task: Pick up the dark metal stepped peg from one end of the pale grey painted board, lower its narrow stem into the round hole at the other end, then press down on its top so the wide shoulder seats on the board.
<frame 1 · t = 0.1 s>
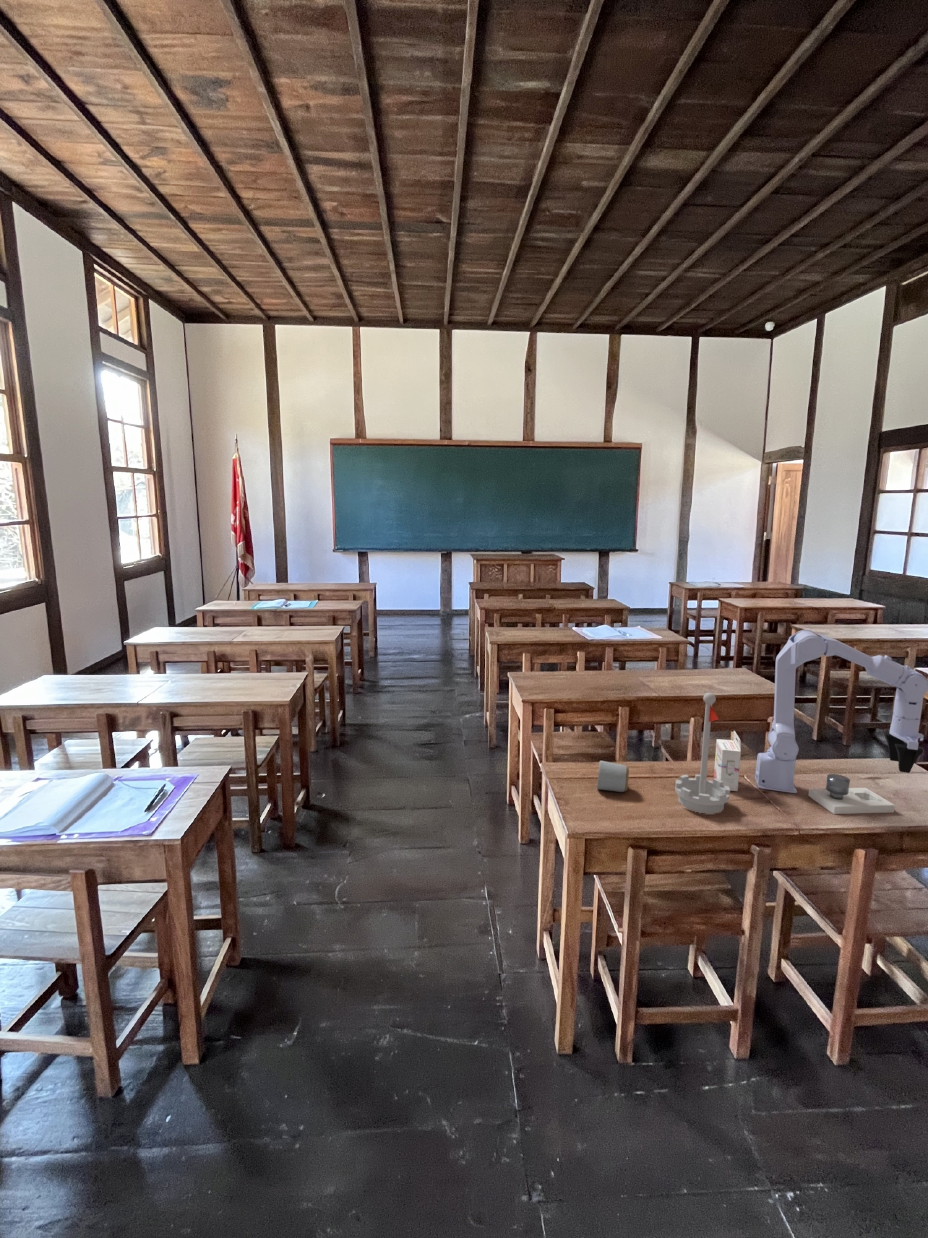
hand: (899, 766, 155), 10 cm above the table, tool pointing down, fingers open, 7 cm apart
ink cartridge box: (724, 785, 166), on the table
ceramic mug: (611, 788, 163), on the table
peg: (836, 797, 154), point 2 cm above the table, touching board
flag stand: (700, 804, 154), on the table
board: (849, 804, 155), on the table
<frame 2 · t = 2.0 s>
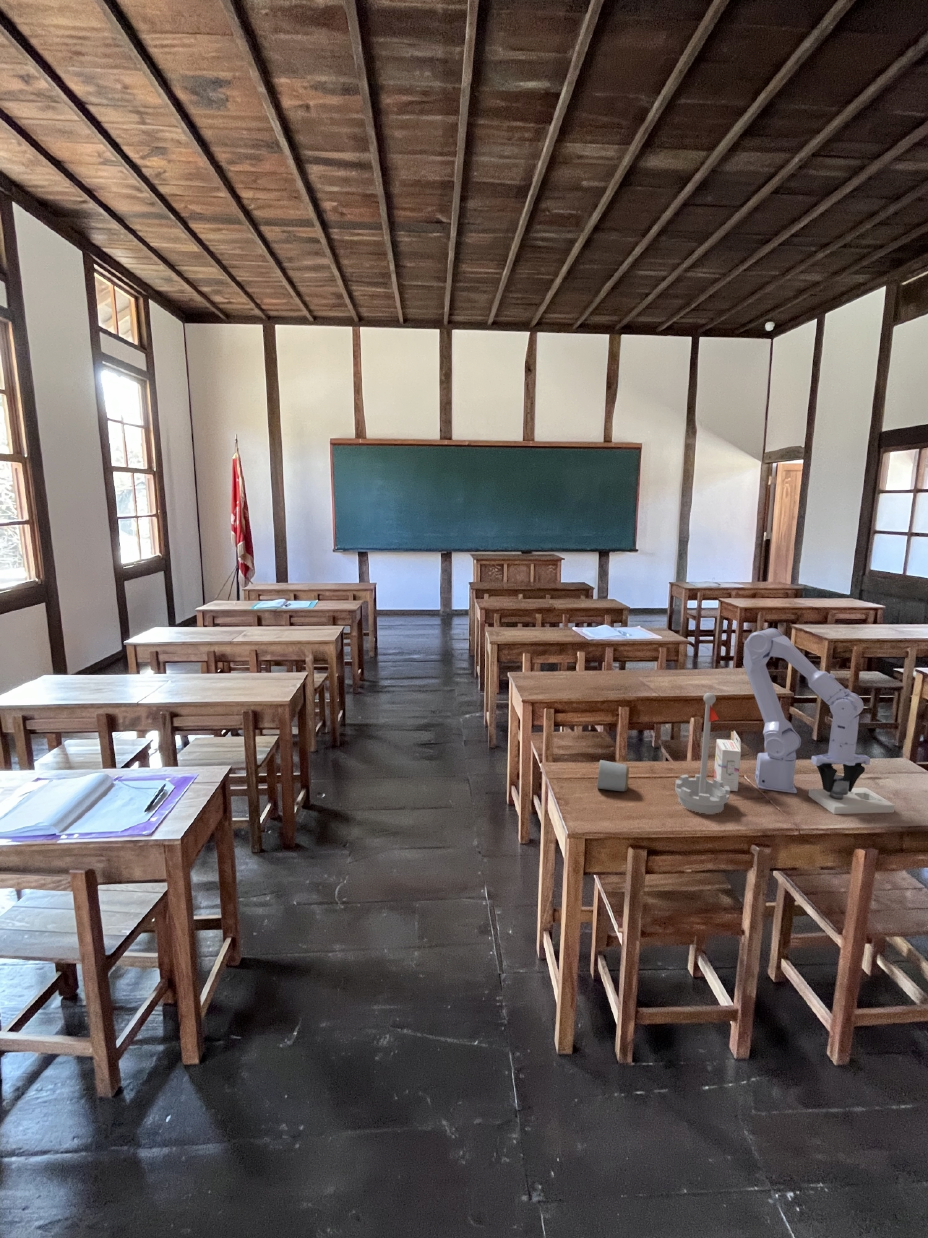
hand: (837, 790, 154), 4 cm above the table, tool pointing down, fingers closed on peg, 5 cm apart
peg: (836, 797, 154), point 2 cm above the table, touching board, gripper
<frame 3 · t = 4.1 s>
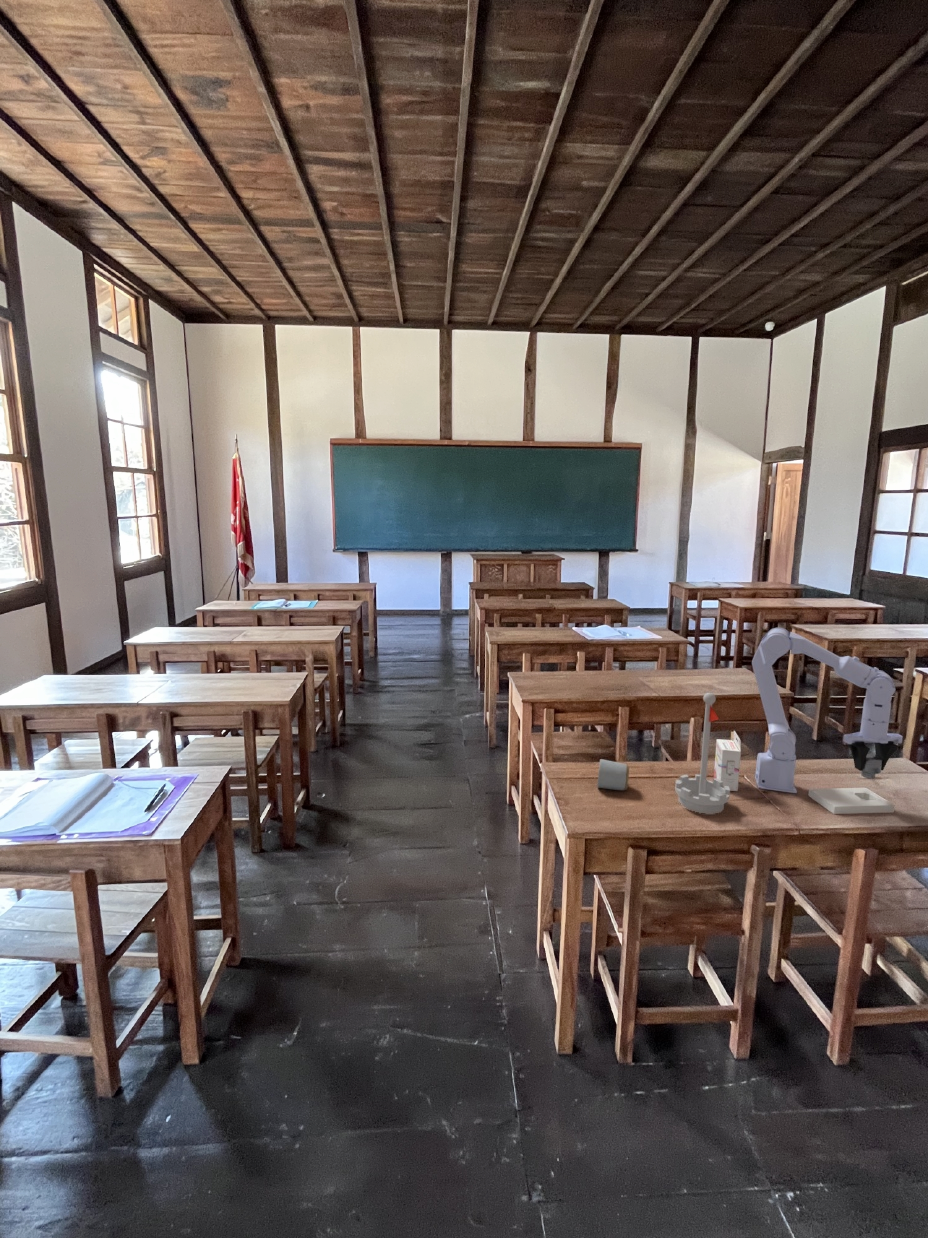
hand: (868, 769, 154), 10 cm above the table, tool pointing down, fingers closed on peg, 5 cm apart
peg: (868, 776, 154), point 8 cm above the table, touching gripper
when the fingers open (3 cm above the table, at t = 6.1 s): peg stays where it is, resting on board.
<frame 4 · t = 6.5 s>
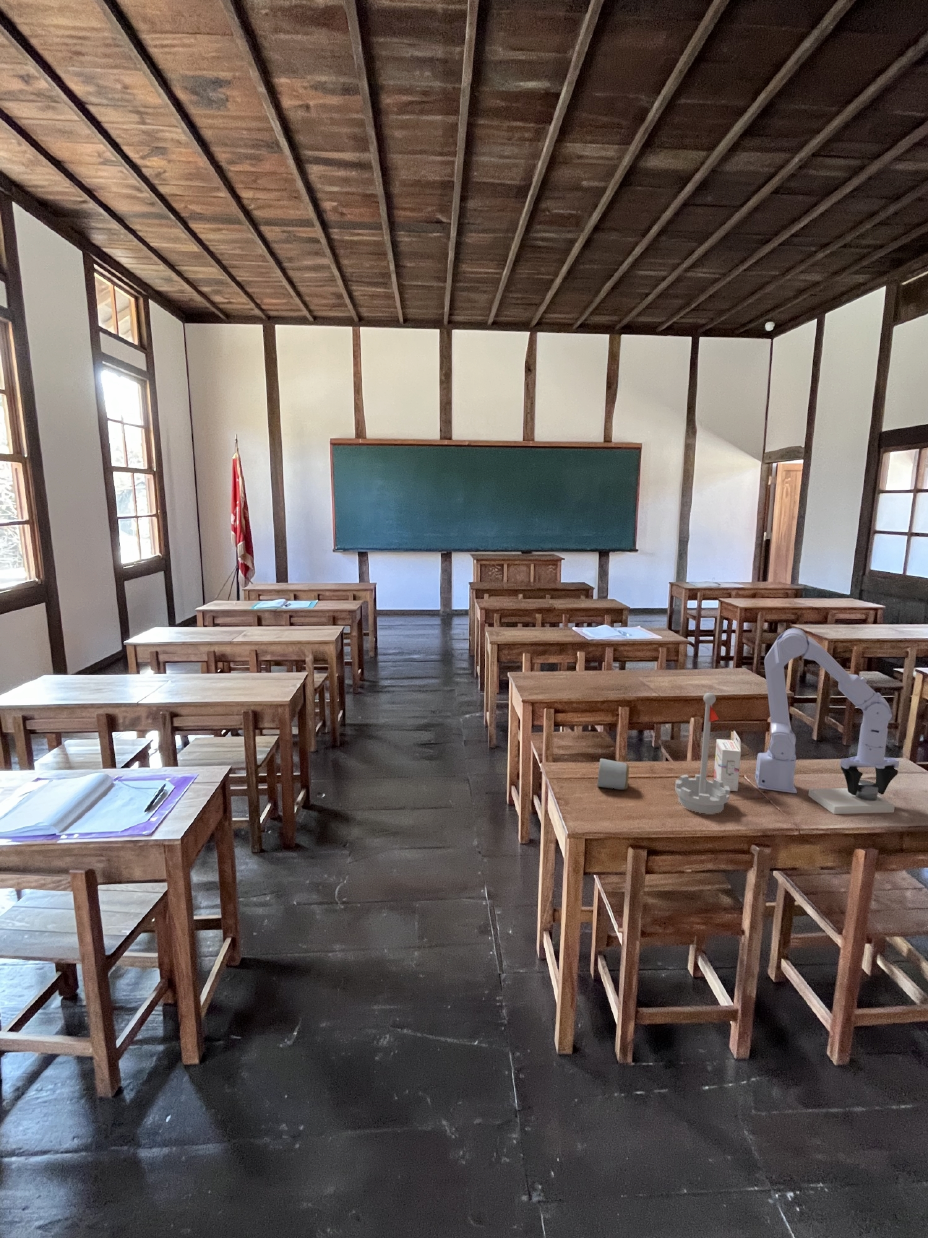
hand: (865, 793, 155), 3 cm above the table, tool pointing down, fingers open, 7 cm apart
peg: (864, 803, 155), resting on board
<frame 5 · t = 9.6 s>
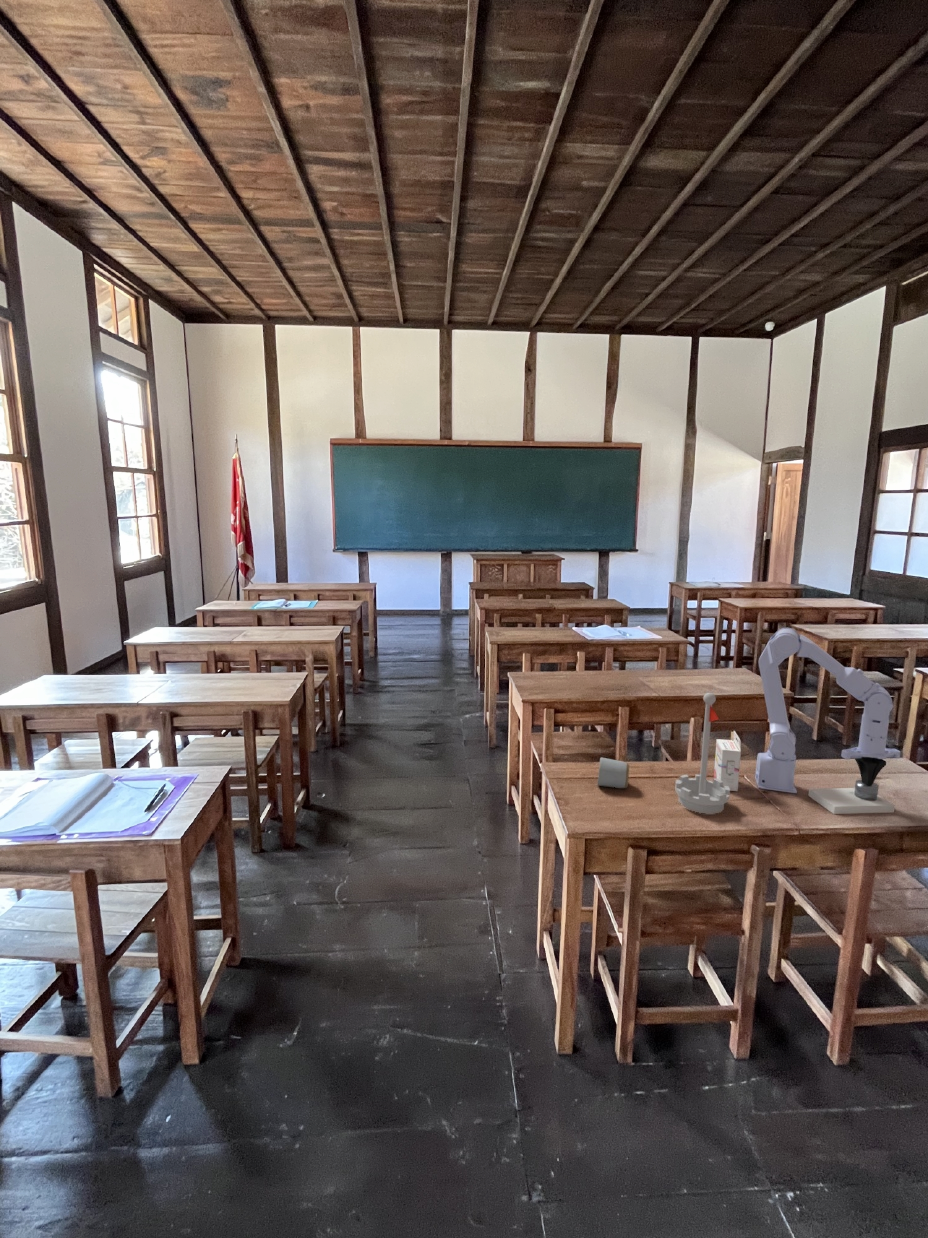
hand: (866, 784, 154), 5 cm above the table, tool pointing down, fingers closed, pressing on peg
peg: (864, 803, 155), resting on board, touching gripper
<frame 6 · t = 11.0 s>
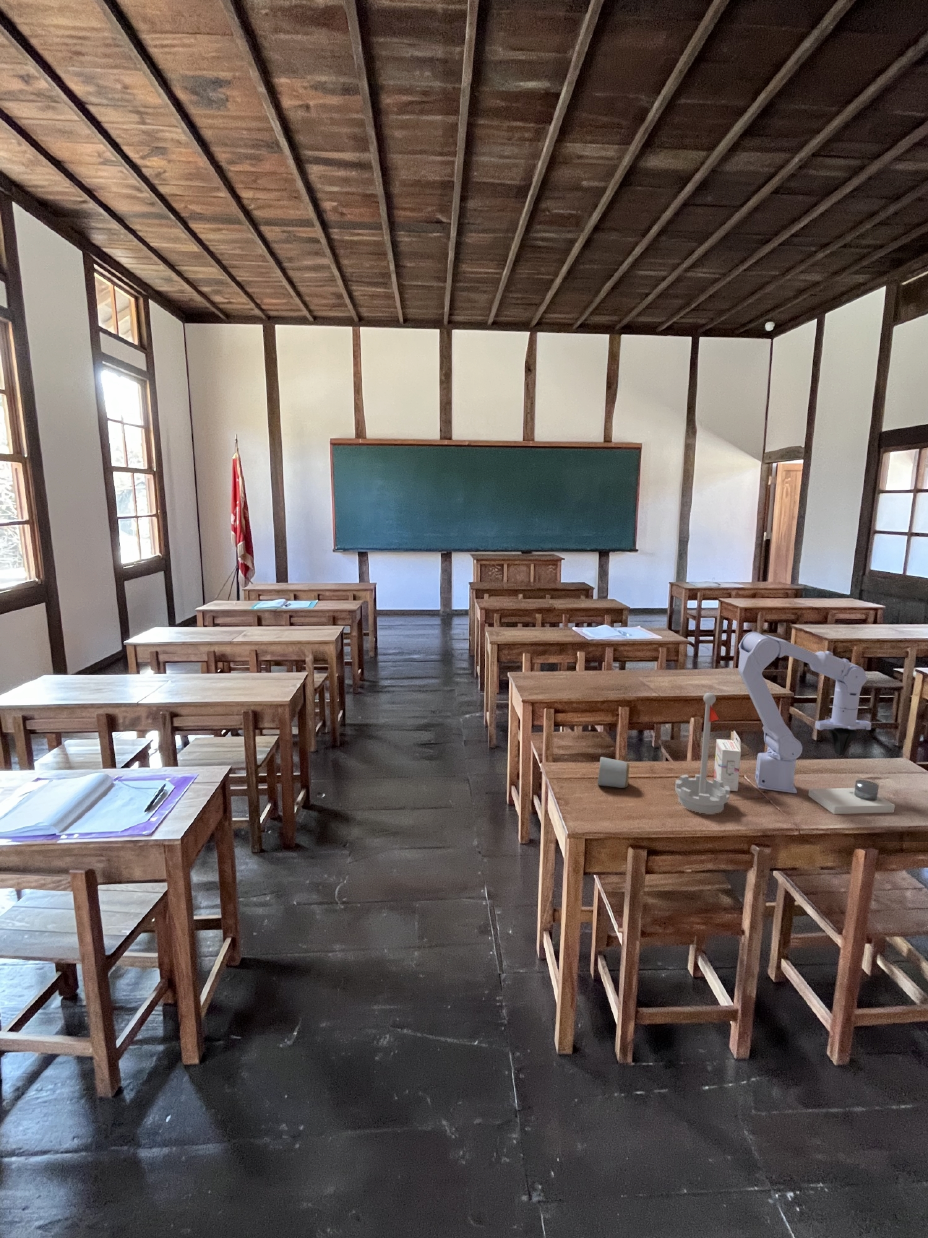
hand: (839, 754, 163), 10 cm above the table, tool pointing down, fingers closed
peg: (864, 803, 155), resting on board
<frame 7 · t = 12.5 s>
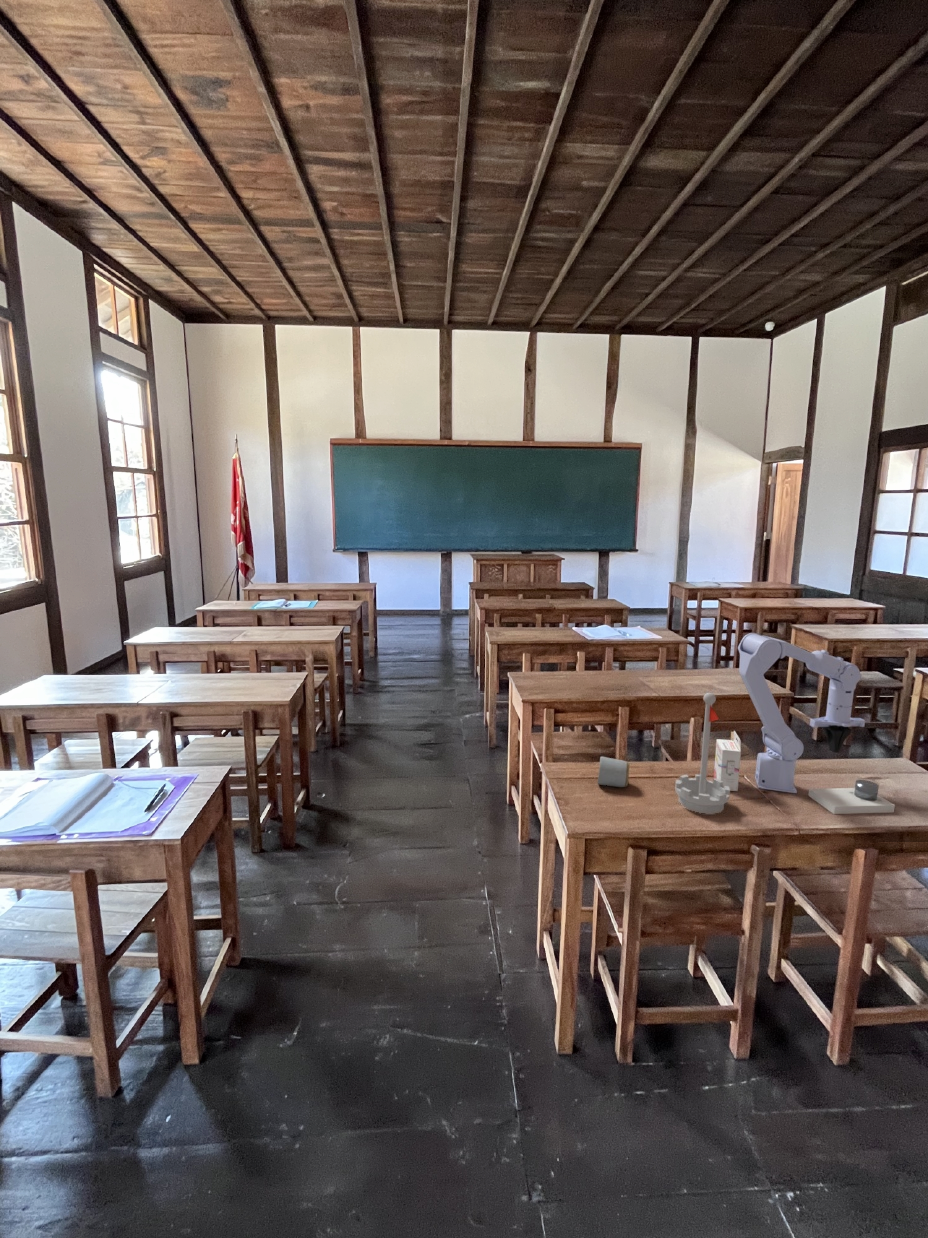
hand: (834, 751, 165), 10 cm above the table, tool pointing down, fingers closed
at the end: peg 0.1 cm from the target spot on the board, point 0.2 cm above the board's base; peg tilted 0°; the gripper is holding nothing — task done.
